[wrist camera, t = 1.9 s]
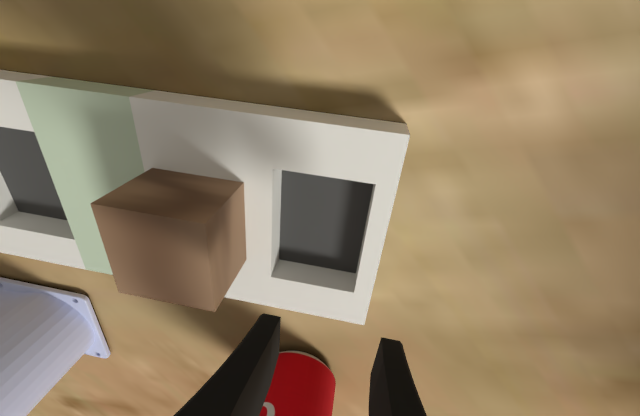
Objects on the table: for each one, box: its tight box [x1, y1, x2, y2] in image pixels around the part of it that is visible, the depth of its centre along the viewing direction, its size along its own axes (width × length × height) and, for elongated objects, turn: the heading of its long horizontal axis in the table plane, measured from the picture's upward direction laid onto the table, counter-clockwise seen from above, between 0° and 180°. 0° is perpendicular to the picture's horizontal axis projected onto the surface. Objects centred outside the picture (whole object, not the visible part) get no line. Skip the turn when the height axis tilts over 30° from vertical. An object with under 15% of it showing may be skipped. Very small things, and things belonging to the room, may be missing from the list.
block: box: [90, 168, 247, 312], centre depth 15 cm, size 5×5×4 cm
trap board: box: [0, 70, 410, 325], centre depth 18 cm, size 26×12×2 cm, turn 85°
